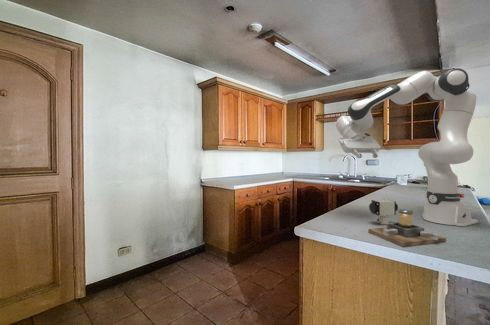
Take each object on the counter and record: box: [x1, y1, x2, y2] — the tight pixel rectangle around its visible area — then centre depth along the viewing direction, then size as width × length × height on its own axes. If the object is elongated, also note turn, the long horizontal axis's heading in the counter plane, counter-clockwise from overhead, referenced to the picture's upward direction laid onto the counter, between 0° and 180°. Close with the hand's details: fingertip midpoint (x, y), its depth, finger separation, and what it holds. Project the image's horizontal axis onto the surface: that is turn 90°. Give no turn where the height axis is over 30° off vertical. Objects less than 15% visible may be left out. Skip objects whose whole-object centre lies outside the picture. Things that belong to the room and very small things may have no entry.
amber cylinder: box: [398, 208, 414, 229], centre depth 91 cm, size 4×4×9 cm
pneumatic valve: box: [368, 198, 399, 226], centre depth 109 cm, size 6×12×12 cm, turn 98°
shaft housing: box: [368, 221, 447, 248], centre depth 91 cm, size 20×17×4 cm
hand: (368, 157), depth 113 cm, fingers open, 8 cm apart
